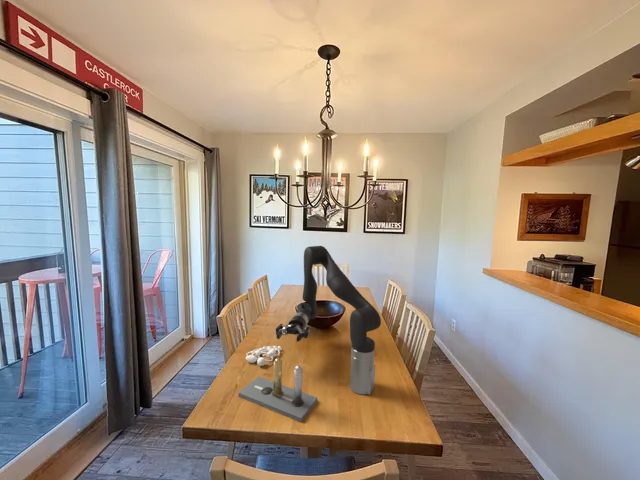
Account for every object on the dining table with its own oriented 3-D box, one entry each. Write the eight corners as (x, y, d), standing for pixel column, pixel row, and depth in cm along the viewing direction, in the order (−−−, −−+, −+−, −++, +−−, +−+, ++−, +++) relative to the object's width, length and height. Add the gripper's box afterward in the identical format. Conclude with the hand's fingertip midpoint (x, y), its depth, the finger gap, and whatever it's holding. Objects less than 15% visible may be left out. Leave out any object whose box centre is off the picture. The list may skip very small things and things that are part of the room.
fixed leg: (303, 401, 104) (304, 365, 103) (299, 406, 102) (299, 369, 100) (296, 399, 106) (296, 362, 104) (292, 403, 103) (292, 366, 101)
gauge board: (317, 401, 107) (317, 397, 107) (301, 422, 96) (301, 417, 96) (258, 379, 119) (258, 376, 119) (238, 396, 109) (238, 392, 109)
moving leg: (284, 393, 108) (284, 357, 107) (279, 398, 105) (279, 361, 104) (275, 390, 110) (275, 355, 108) (270, 394, 107) (270, 359, 106)
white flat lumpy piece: (266, 346, 151) (266, 339, 151) (288, 351, 144) (288, 343, 143) (240, 362, 134) (239, 354, 134) (263, 369, 127) (263, 360, 127)
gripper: (284, 313, 135) (271, 327, 119) (313, 316, 132) (304, 331, 116) (284, 328, 136) (271, 344, 120) (313, 332, 133) (303, 349, 117)
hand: (287, 338), depth 118 cm, fingers open, 8 cm apart
